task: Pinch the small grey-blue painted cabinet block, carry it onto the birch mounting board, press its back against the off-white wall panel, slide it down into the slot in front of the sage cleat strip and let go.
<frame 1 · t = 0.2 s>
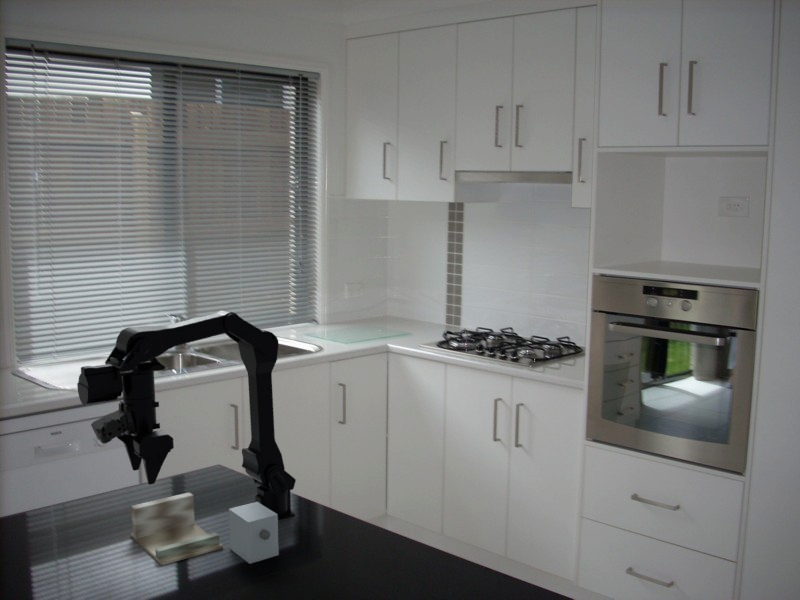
hand: (143, 476, 160), 14 cm above the counter, fingers open, 9 cm apart
cabinet block: (254, 552, 161), on the counter
cleat board: (176, 542, 165), on the counter
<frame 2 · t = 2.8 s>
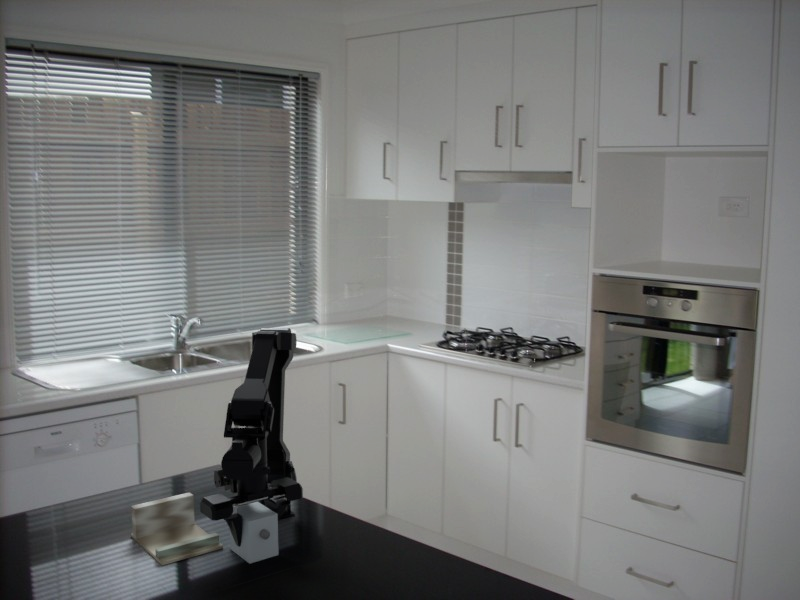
hand: (253, 541, 161), 2 cm above the counter, fingers closed on cabinet block, 6 cm apart
cabinet block: (254, 551, 161), on the counter, touching gripper
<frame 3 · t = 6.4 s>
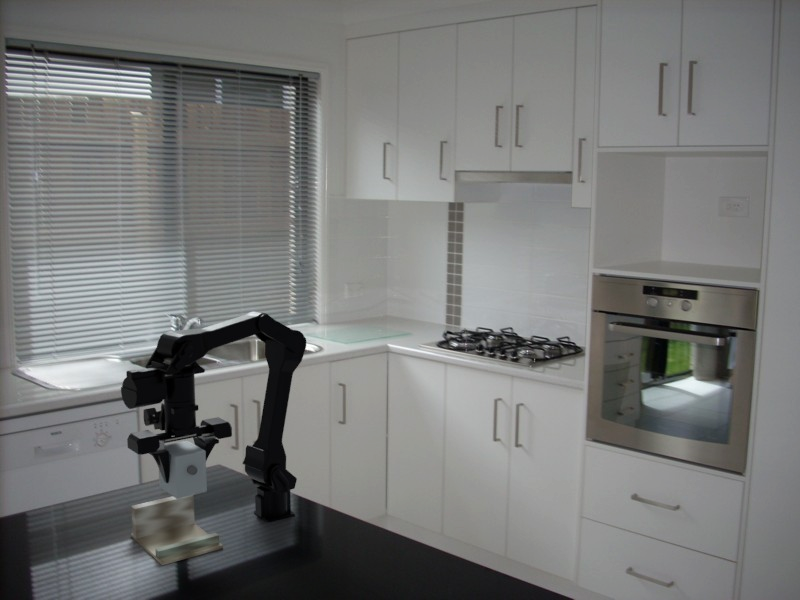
hand: (182, 478, 162), 13 cm above the counter, fingers closed on cabinet block, 6 cm apart
cabinet block: (182, 489, 163), point 11 cm above the counter, touching gripper
when the fingers open (4 cm above the counter, at t = 9.8 s): cabinet block stays where it is, resting on cleat board.
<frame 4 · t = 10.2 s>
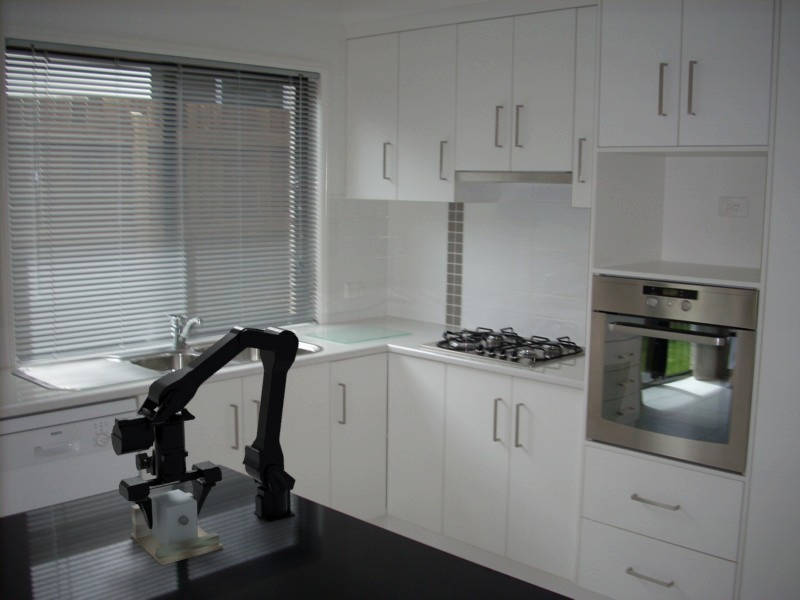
hand: (173, 522, 166), 4 cm above the counter, fingers open, 9 cm apart
cabinet block: (174, 537, 166), point 1 cm above the counter, touching cleat board
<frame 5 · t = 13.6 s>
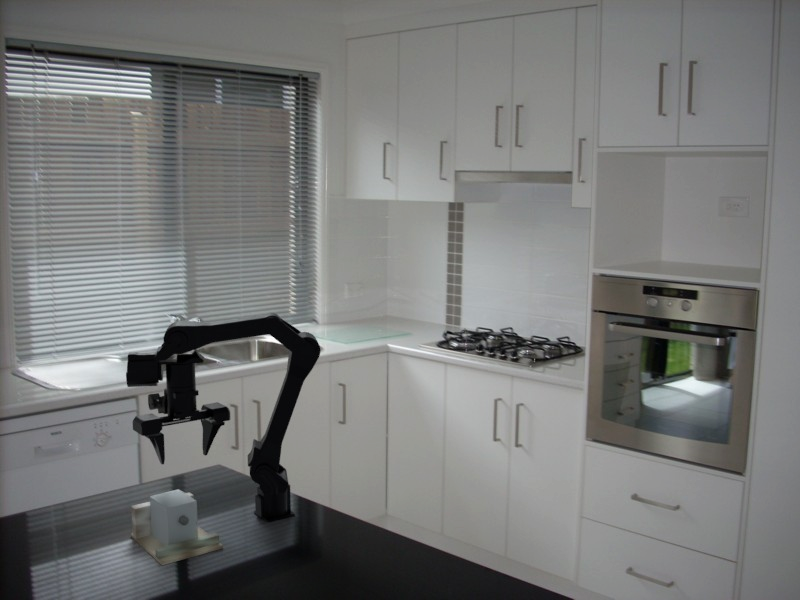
hand: (184, 459, 174), 13 cm above the counter, fingers open, 9 cm apart
nothing on the counter moved.
at the end: cabinet block inside the target area on the cleat board (1.6 cm from its centre), point 0.6 cm above the cleat board's base; cabinet block tilted 0°; the gripper is holding nothing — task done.
